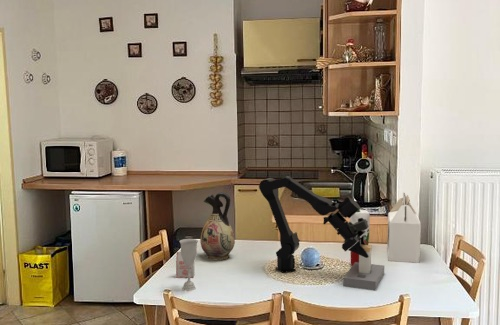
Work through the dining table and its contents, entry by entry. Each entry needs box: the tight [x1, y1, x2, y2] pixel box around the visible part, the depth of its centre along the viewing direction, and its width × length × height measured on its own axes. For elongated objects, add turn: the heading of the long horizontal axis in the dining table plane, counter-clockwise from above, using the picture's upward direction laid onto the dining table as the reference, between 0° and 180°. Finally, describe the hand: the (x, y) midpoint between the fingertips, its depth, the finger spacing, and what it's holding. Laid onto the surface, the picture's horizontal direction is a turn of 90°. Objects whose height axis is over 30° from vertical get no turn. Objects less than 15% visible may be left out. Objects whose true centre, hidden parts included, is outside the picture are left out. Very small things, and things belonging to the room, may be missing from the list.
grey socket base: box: [342, 262, 385, 291], centre depth 213 cm, size 12×22×4 cm, turn 158°
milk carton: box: [349, 209, 371, 245], centre depth 260 cm, size 9×9×20 cm
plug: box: [359, 244, 373, 274], centre depth 213 cm, size 4×4×11 cm
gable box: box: [386, 192, 422, 264], centre depth 248 cm, size 22×13×28 cm, turn 167°
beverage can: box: [350, 238, 367, 267], centre depth 232 cm, size 7×7×12 cm
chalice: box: [179, 238, 199, 292], centre depth 202 cm, size 7×7×18 cm
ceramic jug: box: [199, 191, 236, 261], centre depth 242 cm, size 17×15×30 cm
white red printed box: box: [175, 251, 195, 279], centre depth 216 cm, size 4×7×10 cm, turn 88°
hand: (368, 255), depth 212 cm, fingers closed on plug, 4 cm apart
